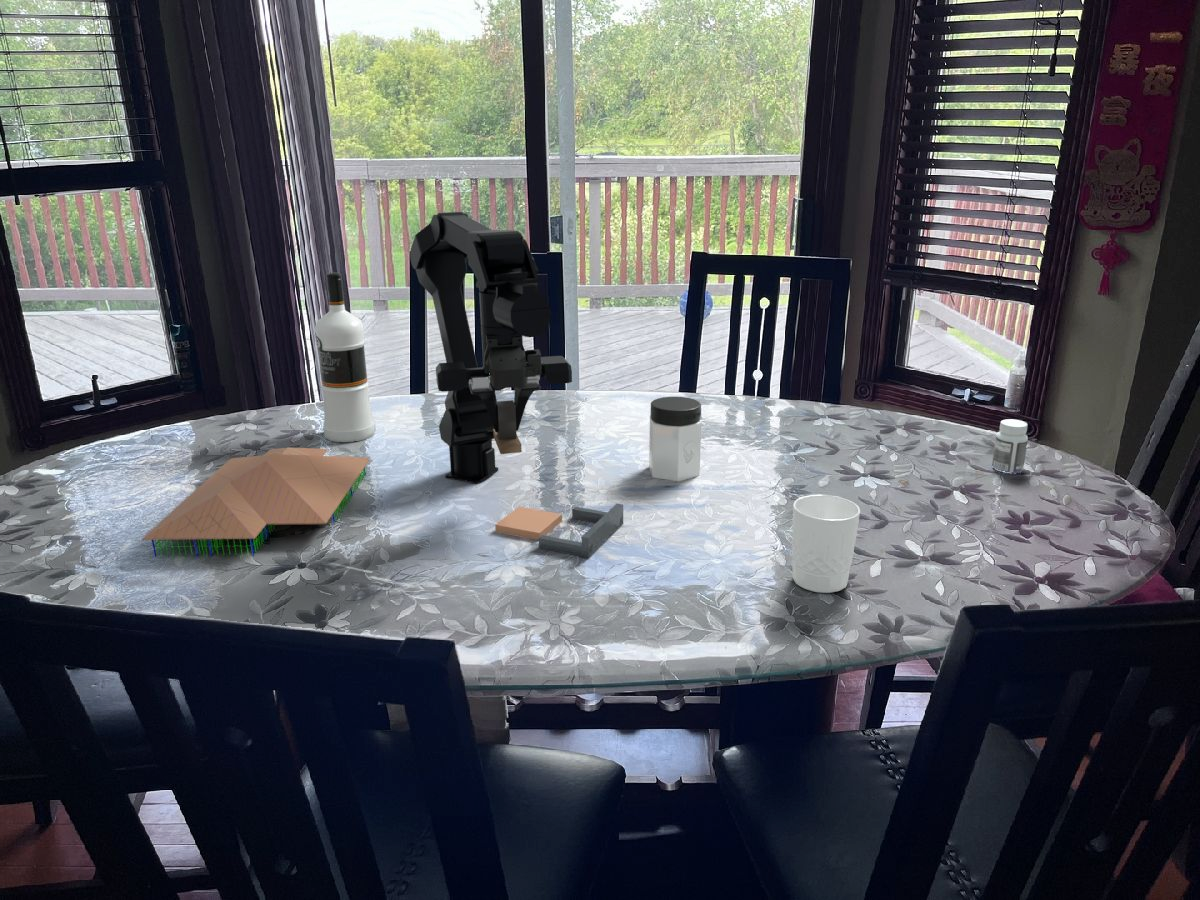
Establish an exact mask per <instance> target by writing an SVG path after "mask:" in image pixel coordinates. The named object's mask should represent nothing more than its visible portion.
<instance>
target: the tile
mask: <svg viewBox="0 0 1200 900" xmlns="http://www.w3.org/2000/svg"><path fill="white" fill-rule="evenodd" d="M562 522H563V514H562V513H558V512H554V511H553V512H551V511H546V510H541V509H536V508H530V507H525V506H518V507H517V508H515V509H514V510H513V511H511V512H510V513H509V514H508V515H506V516H505V517H503V518H502V519H501V520H499V521H498V522H497V523H495V524H494V526H495V527H494V528H495V533H500V534H504V535H510V536H515V537H520V538H526V539H531V540H535V541H539V537H540V536H541V535H545V536H548V534H549V533H550V532H551V531H553V530H554V529H555V528H556V527H558V525H559V524H561V523H562Z"/></svg>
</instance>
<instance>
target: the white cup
mask: <svg viewBox="0 0 1200 900" xmlns="http://www.w3.org/2000/svg"><path fill="white" fill-rule="evenodd" d="M860 515H861V508H860V507H859V505H858V504H856V503H855V502H853V501H851V500H849V499H847V498H843V497H841V496H836V495H830V494H810V495H804V496H801V497H799V498H797V499H795V500H794V501H793V505H792V532H791V533H792V535H791V537H792V539H791V541H792V543H791V544H792V548H791V550H792V553H791V555H792V572H791V573H792V579H793V581H794V583H795V584H796V585H797V586H799V587H801V588H803V589H804V590H807V591H811V592H815V593H823V594H825V593H826V594H830V593H835V592H839V591H842V590H844V589H845V588H847V586H848V582H849V575H850V570H851V566H852V564H853V557H854V552H855V547H856V544H857V543H856V542H857V534H858V530H859V529H858V528H859V521H860Z"/></svg>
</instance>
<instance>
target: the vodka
mask: <svg viewBox="0 0 1200 900" xmlns="http://www.w3.org/2000/svg"><path fill="white" fill-rule="evenodd" d="M325 277H326V278H325V279H326V285H327V294H328V295H327V296H328V304H329V305H328V306H329V307H328V308H329V310H328V312H327V313H325V314H324V315H323V316H322V317H320V318H319V319H318V320H317V321H316V322H315V327H314V333H315V335H316V344H317V353H318V354H317V355H318V361H319V372H320V379H321V380H320V381H321V386H320V388H321V391H322V397H323V408H324V409H323V410H324V413H323V415H324V416H323V417H324V418H323V419H324V420H323V422H324V423H323V425H322V426H323V427H322V429H323V430H322V431H323V436H324V438H325V439H326V438H327V439H326V440H328V441H330V442H333V441H335V442H334V443H339V442H349V443H355V442H354V441H357V442H361V440H362V441H365V440H367V438H368V439H370V438H371V437H373V436H374V435H375V434H376V430H377V429H376V421H375V419H374V416H373V411H372V408H371V407H372V406H371V402H370V391H369V386H370V383H369V381H368V375H367V365H366V355H365V354H366V353H365V343H366V341H365V339H364V338H365V337H364V336H365V333H364V330H365V329H364V325H363V322H362V321H361V319H360V318H358V317H357V316H356V315H354V314H352V313H351V312H349V311H347V310H346V307H345V297H344V289H343V288H344V287H343V280H342V277H343V276H342V273H340V272H333V271H332V272H329V273H326V274H325ZM364 439H365V440H364Z"/></svg>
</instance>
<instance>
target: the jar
mask: <svg viewBox="0 0 1200 900" xmlns="http://www.w3.org/2000/svg"><path fill="white" fill-rule="evenodd" d="M701 415H702V404H701V402H700V401H698V400H697V399H694V398H690V397H684V396H663V397H658V398H656V399H653V400H652V401H651V402H650V415H649V445H648V447H649V450H648V454H649V455H648V456H649V457H648V468H649V471H650V474H651V477H652V478H656V479H662V480H668V481H672V482H681V481H684V480H685V481H686V480H688V479H693V478H696V477H699V476H700V473H701V471H700V470H701V448H702V446H701V445H702V444H701V443H702V442H701V441H702V421H701V417H702V416H701Z"/></svg>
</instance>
